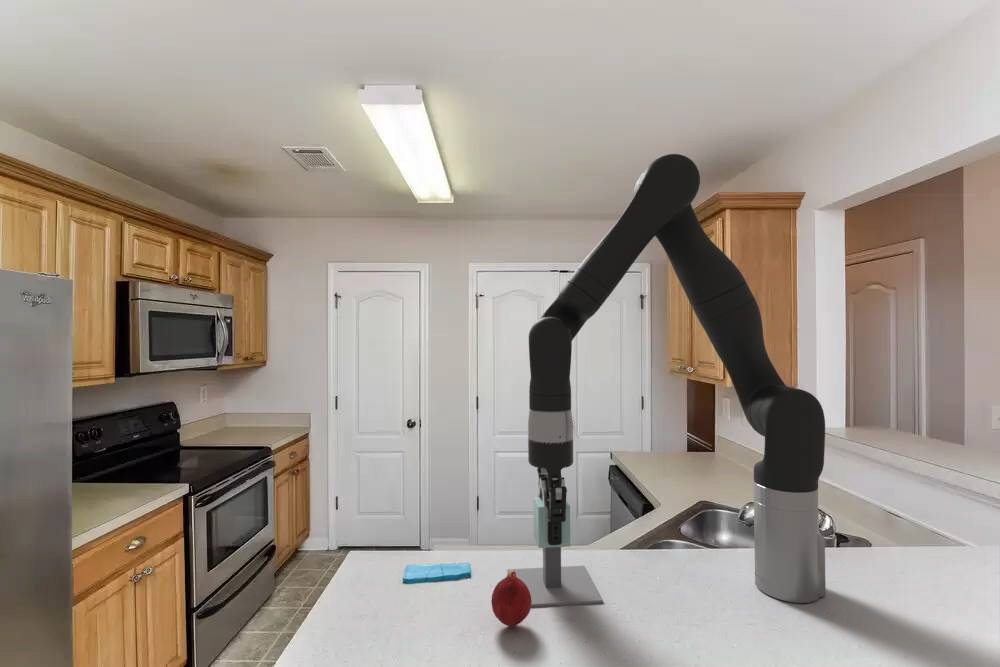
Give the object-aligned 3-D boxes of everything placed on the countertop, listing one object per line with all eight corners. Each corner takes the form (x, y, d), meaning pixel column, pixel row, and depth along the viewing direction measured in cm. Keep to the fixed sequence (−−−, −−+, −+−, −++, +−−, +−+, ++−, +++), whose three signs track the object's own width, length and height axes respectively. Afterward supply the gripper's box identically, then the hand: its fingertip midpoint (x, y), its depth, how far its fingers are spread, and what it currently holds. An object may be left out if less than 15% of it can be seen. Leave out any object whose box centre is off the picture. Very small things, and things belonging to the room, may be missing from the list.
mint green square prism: (563, 534, 87) (563, 495, 87) (570, 546, 82) (569, 505, 82) (534, 535, 87) (533, 497, 87) (538, 548, 82) (538, 507, 82)
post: (558, 579, 86) (557, 538, 86) (561, 587, 83) (560, 544, 83) (543, 580, 86) (542, 539, 86) (545, 588, 83) (545, 545, 83)
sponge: (470, 578, 86) (471, 559, 92) (400, 580, 86) (406, 561, 92) (470, 587, 86) (472, 567, 92) (400, 588, 86) (406, 569, 92)
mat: (584, 567, 91) (584, 565, 91) (603, 602, 79) (603, 600, 79) (507, 571, 90) (507, 569, 90) (514, 607, 78) (514, 605, 78)
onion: (528, 641, 69) (527, 583, 70) (487, 636, 71) (487, 579, 71) (534, 617, 75) (533, 564, 75) (496, 613, 76) (495, 561, 76)
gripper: (582, 444, 78) (583, 554, 78) (563, 427, 92) (564, 520, 92) (534, 445, 77) (535, 556, 77) (522, 428, 91) (523, 522, 91)
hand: (551, 536), depth 85 cm, fingers closed on mint green square prism, 5 cm apart
